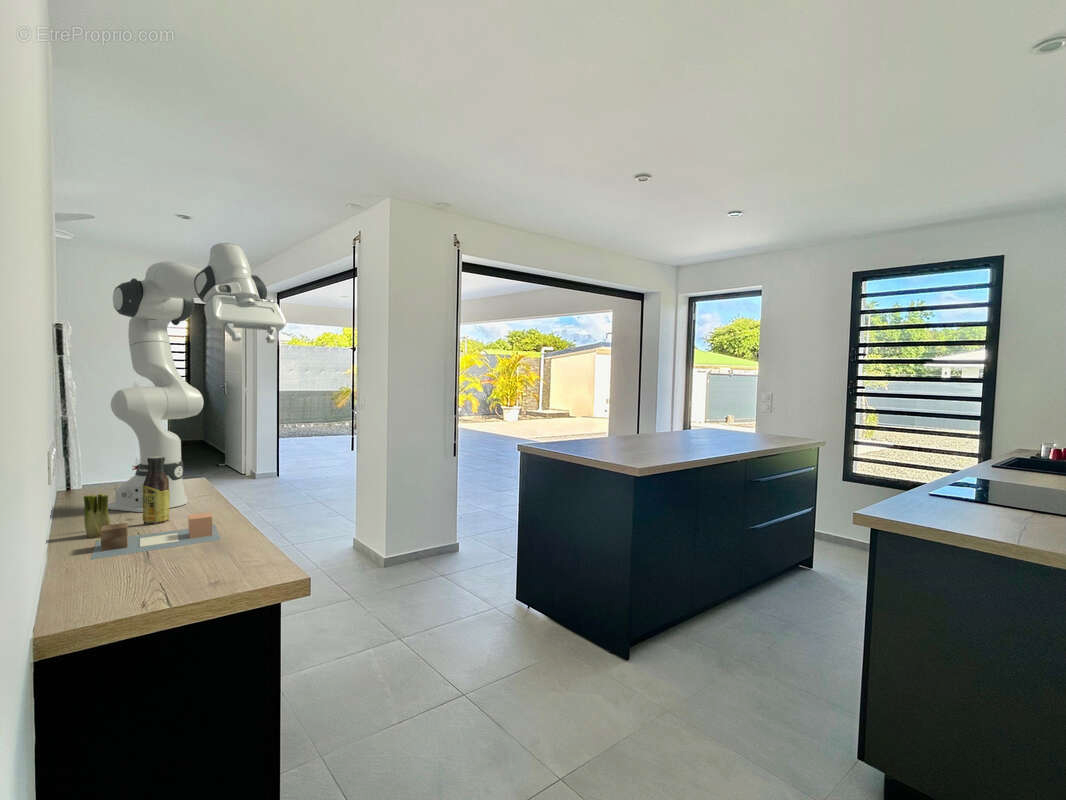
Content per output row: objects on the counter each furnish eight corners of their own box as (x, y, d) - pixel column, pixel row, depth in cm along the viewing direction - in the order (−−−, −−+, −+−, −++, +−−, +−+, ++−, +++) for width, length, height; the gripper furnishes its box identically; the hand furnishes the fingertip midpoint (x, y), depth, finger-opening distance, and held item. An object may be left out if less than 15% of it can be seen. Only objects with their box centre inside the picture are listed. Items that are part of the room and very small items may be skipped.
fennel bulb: (81, 540, 140) (80, 494, 140) (103, 535, 145) (101, 490, 144) (94, 543, 138) (92, 497, 137) (115, 538, 142) (114, 493, 142)
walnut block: (101, 551, 129) (100, 530, 129) (102, 545, 133) (102, 525, 133) (127, 547, 132) (126, 527, 132) (127, 542, 136) (127, 522, 136)
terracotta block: (189, 538, 139) (189, 519, 139) (188, 533, 143) (188, 515, 143) (212, 535, 142) (211, 516, 142) (210, 530, 146) (210, 512, 146)
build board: (91, 563, 124) (90, 558, 124) (96, 544, 137) (96, 540, 137) (221, 543, 139) (221, 539, 139) (215, 528, 152) (215, 524, 152)
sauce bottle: (138, 526, 153) (136, 457, 152) (162, 521, 159) (160, 454, 158) (151, 529, 150) (149, 458, 149) (174, 524, 156) (173, 455, 154)
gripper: (271, 306, 157) (284, 348, 154) (196, 298, 139) (210, 345, 137) (282, 295, 154) (296, 338, 151) (207, 285, 136) (221, 333, 134)
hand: (254, 341), depth 144 cm, fingers open, 8 cm apart
